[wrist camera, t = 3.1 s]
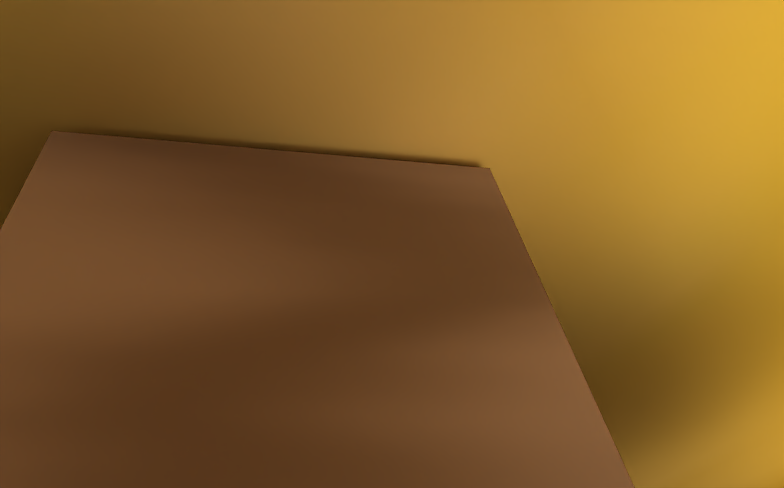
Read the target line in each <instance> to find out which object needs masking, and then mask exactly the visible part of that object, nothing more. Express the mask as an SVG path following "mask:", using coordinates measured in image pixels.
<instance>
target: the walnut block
mask: <svg viewBox="0 0 784 488" xmlns="http://www.w3.org/2000/svg"><path fill="white" fill-rule="evenodd" d="M0 488H634V485H633V483H632V481H631V479H630V477H629V474H628V472H627V470H626V468H625V466H624V463H623V461H622V459H621V457H620V455H619V452H618V450H617V448H616V446H615V444H614V441H613V439H612V437H611V435H610V433H609V430H608V428H607V426H606V424H605V422H604V419H603V417H602V415H601V413H600V411H599V408H598V406H597V404H596V402H595V400H594V397H593V395H592V393H591V391H590V389H589V386H588V384H587V382H586V380H585V378H584V375H583V373H582V371H581V369H580V367H579V364H578V362H577V360H576V358H575V356H574V353H573V351H572V349H571V347H570V345H569V342H568V340H567V338H566V336H565V334H564V331H563V329H562V327H561V325H560V322H559V320H558V318H557V316H556V314H555V311H554V309H553V307H552V305H551V303H550V300H549V298H548V296H547V294H546V292H545V289H544V287H543V285H542V283H541V281H540V278H539V276H538V274H537V272H536V270H535V267H534V265H533V263H532V261H531V259H530V256H529V254H528V252H527V250H526V248H525V245H524V243H523V241H522V239H521V237H520V234H519V232H518V230H517V228H516V226H515V223H514V221H513V219H512V217H511V215H510V212H509V210H508V208H507V206H506V204H505V201H504V199H503V197H502V195H501V193H500V190H499V188H498V186H497V184H496V182H495V179H494V177H493V175H492V173H491V171H490V168H480V167H468V166H456V165H445V164H433V163H421V162H410V161H398V160H386V159H375V158H363V157H351V156H340V155H328V154H317V153H305V152H293V151H282V150H270V149H258V148H247V147H235V146H223V145H212V144H200V143H188V142H177V141H165V140H153V139H142V138H130V137H118V136H107V135H95V134H84V133H72V132H60V131H51V133H50V135H49V137H48V139H47V141H46V143H45V145H44V147H43V148H42V150H41V152H40V154H39V156H38V158H37V160H36V162H35V164H34V166H33V168H32V170H31V172H30V174H29V175H28V177H27V179H26V181H25V183H24V185H23V187H22V189H21V191H20V193H19V195H18V197H17V199H16V201H15V202H14V204H13V206H12V208H11V210H10V212H9V214H8V216H7V218H6V220H5V222H4V224H3V226H2V227H1V229H0Z"/></svg>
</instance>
